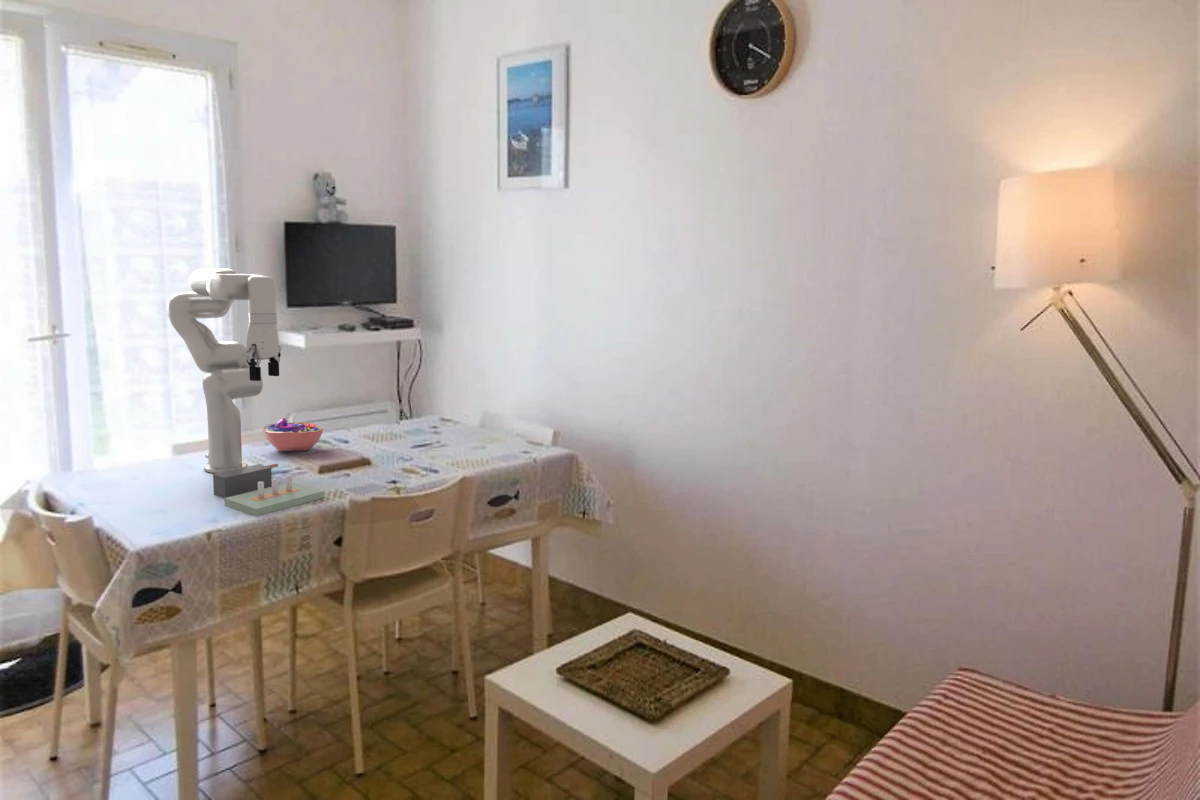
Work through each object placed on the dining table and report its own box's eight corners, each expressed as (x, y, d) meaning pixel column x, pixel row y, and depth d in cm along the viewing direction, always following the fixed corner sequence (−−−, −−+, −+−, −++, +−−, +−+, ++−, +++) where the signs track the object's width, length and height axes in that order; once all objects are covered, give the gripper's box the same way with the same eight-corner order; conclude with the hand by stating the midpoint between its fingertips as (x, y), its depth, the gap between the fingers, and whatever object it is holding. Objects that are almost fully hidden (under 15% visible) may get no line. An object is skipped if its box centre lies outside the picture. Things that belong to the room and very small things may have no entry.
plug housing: (213, 494, 243) (213, 474, 242) (271, 480, 258) (271, 461, 257) (225, 498, 240) (224, 477, 238) (283, 484, 255) (282, 464, 254)
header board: (224, 505, 234) (224, 482, 233) (292, 488, 252) (292, 466, 251) (256, 516, 226) (255, 492, 225) (323, 497, 244) (323, 475, 243)
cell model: (313, 458, 285) (313, 425, 283) (254, 455, 285) (253, 422, 283) (330, 446, 302) (329, 415, 300) (274, 443, 302) (273, 412, 300)
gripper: (267, 316, 253) (269, 373, 256) (233, 321, 236) (235, 381, 239) (290, 317, 252) (292, 374, 255) (258, 322, 235) (260, 383, 238)
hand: (264, 378), depth 247 cm, fingers open, 9 cm apart
